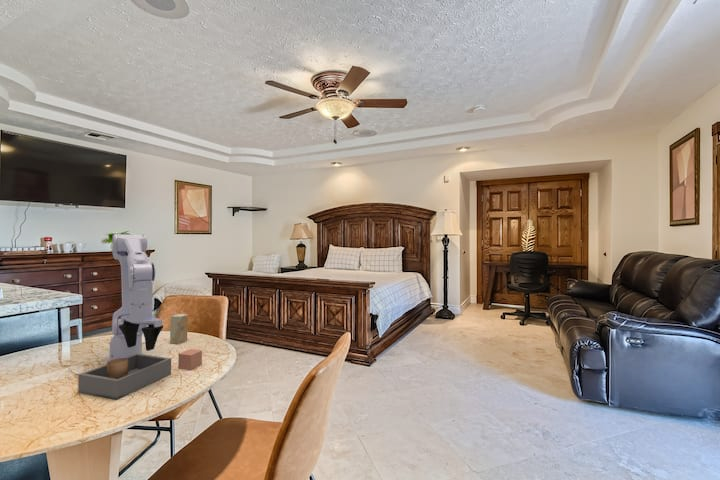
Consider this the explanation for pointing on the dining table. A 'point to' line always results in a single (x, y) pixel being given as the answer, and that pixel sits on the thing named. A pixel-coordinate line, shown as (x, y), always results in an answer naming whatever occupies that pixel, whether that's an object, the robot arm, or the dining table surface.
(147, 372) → the tote
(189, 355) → the cube
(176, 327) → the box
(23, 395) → the dining table surface
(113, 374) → the walnut cylinder
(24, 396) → the dining table surface
